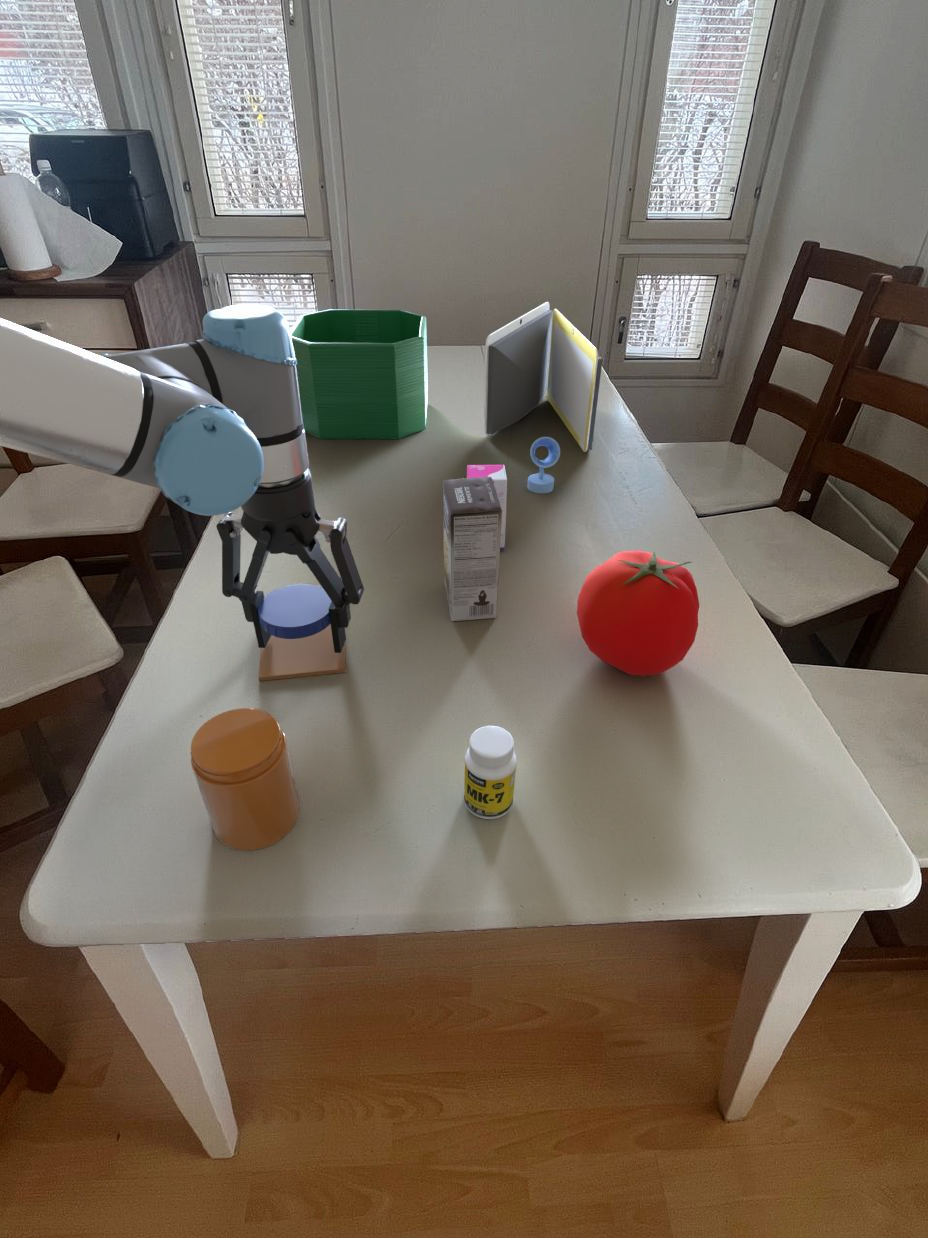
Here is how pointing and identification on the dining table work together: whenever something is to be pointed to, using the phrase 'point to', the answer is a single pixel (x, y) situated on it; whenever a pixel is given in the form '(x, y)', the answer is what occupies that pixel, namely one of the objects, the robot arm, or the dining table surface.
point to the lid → (295, 611)
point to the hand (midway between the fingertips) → (302, 643)
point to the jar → (245, 778)
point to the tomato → (639, 612)
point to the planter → (362, 373)
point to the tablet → (542, 373)
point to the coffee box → (471, 547)
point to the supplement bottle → (490, 772)
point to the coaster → (300, 657)
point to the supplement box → (500, 485)
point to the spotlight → (543, 466)
